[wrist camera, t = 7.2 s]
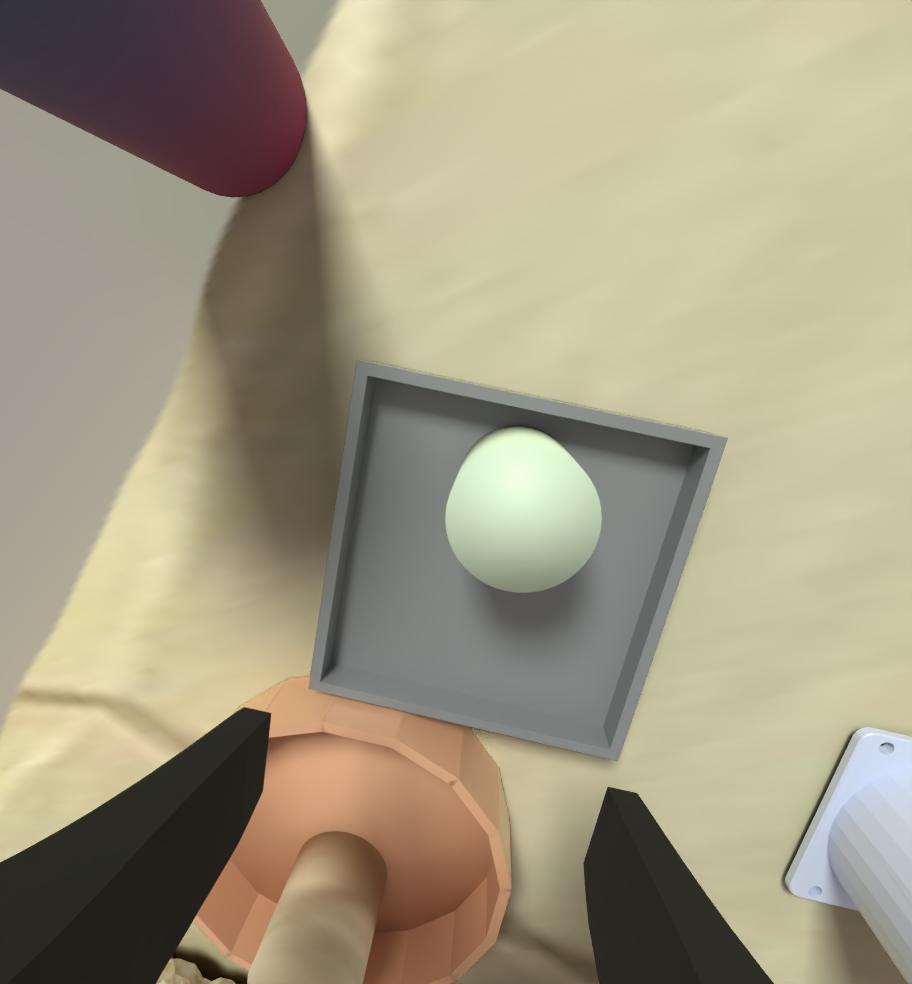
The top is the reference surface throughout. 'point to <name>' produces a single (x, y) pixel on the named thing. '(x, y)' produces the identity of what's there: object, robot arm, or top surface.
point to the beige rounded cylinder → (324, 914)
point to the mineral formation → (186, 974)
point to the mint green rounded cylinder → (522, 511)
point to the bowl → (374, 831)
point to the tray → (480, 607)
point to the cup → (164, 82)
